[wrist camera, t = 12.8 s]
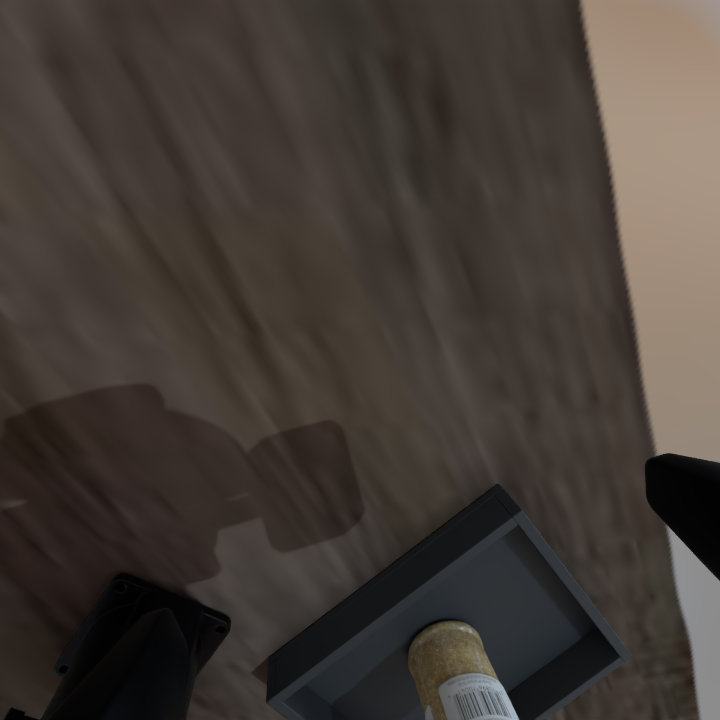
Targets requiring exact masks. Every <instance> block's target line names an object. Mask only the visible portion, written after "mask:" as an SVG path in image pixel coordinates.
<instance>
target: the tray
mask: <svg viewBox="0 0 720 720" xmlns="http://www.w3.org/2000/svg"><path fill="white" fill-rule="evenodd" d="M454 620H455V621H461V622H465V623H467V624H469V625H470V626H471V627H473V628H474V629H475V630H476V631H477V632H478V634H479V636H480V638H481V641H482V644H483V649H484V651H485V653H486V655H487V657H488V659H489V661H490V664H491V666H492V667H493V670H494V672H495V674H496V676H497V678H498V680H499V682H500V683H501V685H502V686H503V687H504V689H505V691H506V693H507V695H508V697H509V700H510V702H511V704H512V706H513V708H514V710H515V712H516V714H517V716H518V718H519V720H546V719H547V718H549V717H550V716H552V715H553V714H554V713H556V712H557V711H558V710H560V709H561V708H563V707H564V706H565V705H567V704H568V703H569V702H571V701H572V700H574V699H575V698H576V697H578V696H579V695H580V694H582V693H583V692H585V691H586V690H587V689H589V688H590V687H591V686H593V685H594V684H596V683H597V682H598V681H600V680H601V679H602V678H604V677H605V676H607V675H608V674H609V673H611V672H612V671H613V670H615V669H616V668H618V667H619V666H620V665H622V664H623V663H624V662H626V661H627V660H629V659H630V658H631V657H632V655H631V653H630V652H629V651H628V649H627V648H626V647H625V645H624V644H623V643H622V641H621V640H620V639H619V637H618V636H617V635H616V633H615V632H614V631H613V629H612V628H611V627H610V625H609V624H608V623H607V621H606V620H605V619H604V617H603V616H602V615H601V613H600V612H599V611H598V610H597V608H596V607H595V606H594V604H593V603H592V602H591V600H590V599H589V598H588V596H587V595H586V594H585V592H584V591H583V590H582V588H581V587H580V586H579V584H578V583H577V582H576V580H575V579H574V578H573V576H572V575H571V574H570V572H569V571H568V570H567V568H566V567H565V566H564V564H563V563H562V562H561V561H560V559H559V558H558V557H557V555H556V554H555V553H554V551H553V550H552V549H551V547H550V546H549V545H548V543H547V542H546V541H545V539H544V538H543V537H542V535H541V534H540V533H539V531H538V530H537V529H536V527H535V526H534V525H533V523H532V522H531V521H530V519H529V518H528V517H527V516H526V514H525V513H524V512H523V510H522V509H521V508H520V507H519V506H518V505H517V503H516V502H515V501H514V500H513V499H512V498H511V497H510V495H509V494H508V493H507V492H506V491H505V490H504V489H503V487H502V486H501V485H500V484H498V485H496V486H495V487H494V488H492V489H491V490H490V491H489V492H487V493H486V494H485V495H483V496H482V497H481V498H479V499H478V500H477V501H475V502H474V503H473V504H471V505H470V506H469V507H467V508H466V509H465V510H463V511H462V512H461V513H459V514H458V515H457V516H455V517H454V518H453V519H452V520H450V521H449V522H448V523H446V524H445V525H444V526H442V527H441V528H440V529H438V530H437V531H436V532H434V533H433V534H432V535H430V536H429V537H428V538H426V539H425V540H424V541H422V542H421V543H420V544H419V545H417V546H416V547H415V548H413V549H412V550H411V551H409V552H408V553H407V554H405V555H404V556H403V557H401V558H400V559H399V560H397V561H396V562H395V563H393V564H392V565H391V566H389V567H388V568H387V569H385V570H384V571H383V572H382V573H380V574H379V575H378V576H376V577H375V578H374V579H372V580H371V581H370V582H368V583H367V584H366V585H364V586H363V587H362V588H360V589H359V590H358V591H356V592H355V593H354V594H352V595H351V596H350V597H348V598H347V599H346V600H345V601H343V602H342V603H341V604H339V605H338V606H337V607H335V608H334V609H333V610H331V611H330V612H329V613H327V614H326V615H325V616H323V617H322V618H321V619H319V620H318V621H317V622H315V623H314V624H313V625H312V626H310V627H309V628H308V629H306V630H305V631H304V632H302V633H301V634H300V635H298V636H297V637H296V638H294V639H293V640H292V641H290V642H289V643H288V644H286V645H285V646H284V647H282V648H281V649H280V650H278V651H277V652H276V653H275V654H273V655H272V656H271V657H269V663H268V665H269V667H268V680H267V696H266V703H267V704H268V705H270V706H271V707H272V708H273V709H275V710H276V711H277V712H279V713H280V714H281V715H282V716H284V717H285V718H286V719H288V720H425V714H424V711H423V707H422V704H421V700H420V696H419V693H418V690H417V687H416V683H415V680H414V677H413V676H412V674H411V672H410V670H409V666H408V653H409V648H410V646H411V644H412V642H413V640H414V638H415V637H416V636H417V635H418V634H420V633H421V632H422V631H423V630H424V629H425V628H427V627H428V626H431V625H433V624H435V623H439V622H443V621H454Z"/></svg>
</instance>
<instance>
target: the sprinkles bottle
mask: <svg viewBox="0 0 720 720" xmlns="http://www.w3.org/2000/svg"><path fill="white" fill-rule="evenodd" d="M408 666H409V670H410V672H411V674H412V676H413V677H414V680H415V683H416V687H417V690H418V693H419V696H420V700H421V704H422V707H423V711H424V714H425V720H519V718H518V716H517V714H516V712H515V710H514V708H513V706H512V704H511V702H510V700H509V697H508V695H507V693H506V691H505V689H504V687H503V686H502V685H501V683H500V682H499V680H498V678H497V676H496V674H495V672H494V670H493V667H492V666H491V664H490V661H489V659H488V657H487V655H486V653H485V651H484V649H483V644H482V641H481V638H480V636H479V634H478V632H477V631H476V630H475V629H474V628H473V627H471V626H470V625H469V624H467V623H465V622H461V621H455V620H454V621H443V622H439V623H435V624H433V625H431V626H428V627H427V628H425V629H424V630H423V631H422V632H421V633H420V634H418V635H417V636H416V637H415V638H414V640H413V642H412V644H411V646H410V648H409V653H408Z"/></svg>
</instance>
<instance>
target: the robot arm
mask: <svg viewBox="0 0 720 720" xmlns="http://www.w3.org/2000/svg"><path fill="white" fill-rule="evenodd" d="M645 481H646V497H647V500H648V502H649V504H650V506H651V508H652V509H653V510H654V511H655V512H656V513H657V515H658V516H659V517H660V518H661V519H662V520H663V521H664V522H665V523H666V524H667V525H668V526H669V527H670V529H671V530H672V531H673V532H674V533H675V534H676V535H677V536H678V537H679V538H680V539H681V540H682V541H683V542H684V543H685V545H686V546H687V547H688V548H689V549H690V550H691V551H692V552H693V553H694V554H695V555H696V556H697V558H698V559H699V560H700V561H701V562H702V563H703V564H704V565H705V566H706V567H707V568H708V569H709V570H710V571H711V572H712V573H713V574H714V575H715V576H716V577H717V578H718V579H719V581H720V463H718V462H713V461H707V460H703V459H697V458H692V457H686V456H682V455H677V454H671V453H667V454H663V455H659V456H656V457H653V458H650V459H648V460H647V461H646V464H645ZM118 584H123V585H124V586H120V585H118ZM219 626H224V627H219ZM230 627H231V620H230V618H229V617H227V616H225V615H223V614H220V613H218V612H216V611H213V610H211V609H208V608H206V607H204V606H201V605H199V604H197V603H194V602H192V601H190V600H187V599H185V598H182V597H180V596H178V595H175V594H173V593H171V592H168V591H166V590H164V589H161V588H159V587H156V586H154V585H152V584H149V583H147V582H145V581H142V580H140V579H138V578H135V577H133V576H130V575H128V574H119V575H116V576H115V577H114V578H113V580H112V581H111V583H110V584H109V586H108V587H107V589H106V590H105V591H104V593H103V594H102V596H101V597H100V599H99V600H98V602H97V603H96V605H95V606H94V608H93V609H92V611H91V612H90V614H89V615H88V616H87V618H86V619H85V621H84V622H83V624H82V625H81V627H80V628H79V630H78V631H77V633H76V634H75V636H74V637H73V638H72V640H71V641H70V643H69V644H68V646H67V647H66V649H65V650H64V652H63V653H62V655H61V656H60V658H59V659H58V661H57V663H56V664H55V666H54V669H53V670H54V673H55V674H56V675H58V676H59V677H62V678H63V679H62V681H61V683H60V685H59V686H58V688H57V690H56V692H55V694H54V696H53V698H52V699H51V701H50V703H49V705H48V707H47V709H46V710H45V712H44V714H43V716H42V718H41V720H186V716H187V711H188V707H189V703H190V698H191V694H192V690H193V686H194V681H195V678H196V677H197V675H198V674H199V672H200V671H201V670H202V668H203V667H204V666H205V664H206V663H207V662H208V660H209V659H210V658H211V656H212V655H213V654H214V652H215V651H216V650H217V648H218V647H219V645H220V644H221V643H222V641H223V640H224V639H225V637H226V636H227V635H228V633H229V631H230ZM24 714H25V712H24V711H21V710H17V709H14V708H10V710H9V711H8V713H7V714H6V716H5V717H4V719H3V720H38V719H35V718H32V717H29V716H25V715H24Z"/></svg>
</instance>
